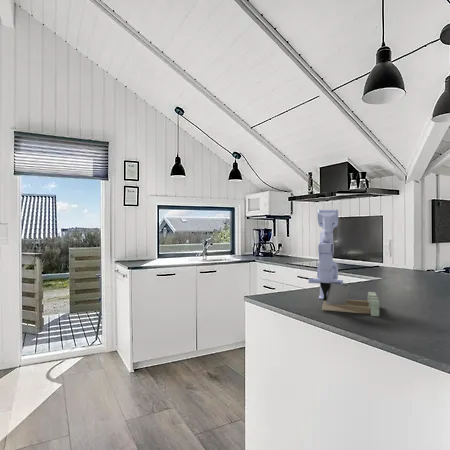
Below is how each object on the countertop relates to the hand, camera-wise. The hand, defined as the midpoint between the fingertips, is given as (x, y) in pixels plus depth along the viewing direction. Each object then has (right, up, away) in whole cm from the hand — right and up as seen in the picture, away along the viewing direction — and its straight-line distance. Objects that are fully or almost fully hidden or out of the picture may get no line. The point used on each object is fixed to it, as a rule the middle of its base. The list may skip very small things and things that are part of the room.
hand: (325, 300), depth 155 cm
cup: (+4, -2, -1) cm, 5 cm away
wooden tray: (+9, -3, -2) cm, 10 cm away
